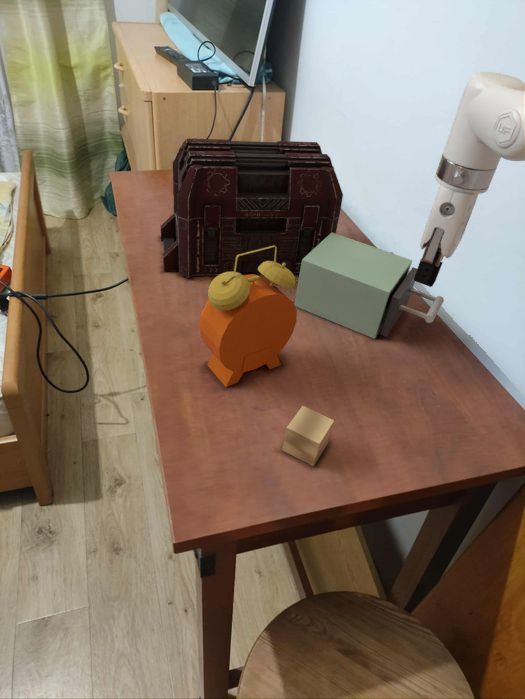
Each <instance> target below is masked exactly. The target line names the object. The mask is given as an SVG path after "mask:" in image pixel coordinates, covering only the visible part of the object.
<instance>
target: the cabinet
mask: <svg viewBox="0 0 525 699" xmlns="http://www.w3.org/2000/svg"><path fill="white" fill-rule="evenodd" d="M412 263H413V260H412V259H410V258H406V257H404V256H401V255H398V254H396V253H393V252H391V251H390V252H389V251H386V250H384V249H381V248H378V247H375V246H373V245H370V244H366V243H364V242H361V241H358V240H356V239H352V238H350V237H346V236H344V235H341V234H339V233H336V234H335V233H333V232H332V233H330V234H329V235H328V236H327V237H326V238H325V239H324V240H323V241H322V242H321V243H320V244H319V245H317V246H316V247H315V248H314V249H313V250H312V251H311V252H310V253H309V254H308V255H307V256H306V257H304V258H303V259H302V264H301V269H300V273H298V274H299V275H298V280H297V286H296V292H295V297H294V305H295V308H298V309H301V310H303V311H305V312H308V313H310V314H312V315H315V316H318V317H320V318H323V319H325V320H327V321H330V322H332V323H335V324H338V325H339V326H342V327H345V328H347V329H349V330H352V331H354V332H357V333H359V334H362V335H364V336H367V337H369V338H371V339H376V338H377V336H378V335H379V334H380V333H381V330H382V327H383V324H384V321H385V318H386V315H387V311H388V309H387V310H386V312H385V313H384V311H385V308H386V305H387V302H388V299H389V295H390V293H391V292H392V291H393V289H394V288H395V286H396V285H397V283H398V282H399V284H398V287H397V289H398V288H399V286H400V285H401V283H402V282H403V281H404V279H405V278H406V276H407V275H408V273H409V272H410V270H411V266H412ZM396 291H397V290H396ZM383 314H384V315H383Z"/></svg>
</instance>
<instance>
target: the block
mask: <svg viewBox="0 0 525 699" xmlns="http://www.w3.org/2000/svg"><path fill="white" fill-rule="evenodd" d="M334 423H335V420H334V419H333V418H332V419H331V418H330V417H328V416H325V415H324V414H322V413H319V412H318V411H315V410H313V409H312V408H309V407H307V406H305V405H301V407H300V409H299V410H298V411H297V413H296V414H295V415H294V417H293V418H292V420H290V422H289V424H288V425H287V426H286V429H285V434H284V439H283V444H282V449H281V451H282V452H284V453H286V454H287V455H290V456H292V457H294V458H296V459H297V460H300V461H302V462H304V463H305V464H308V465H309V466H310V467H315V465H316V463H317V462H318V460H319V458H320V457H321V455H322V454H323V452H324V450H325V449H326V447H327V446H328V444H329V441H330V437H331V434H332V430H333V428H334Z"/></svg>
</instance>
